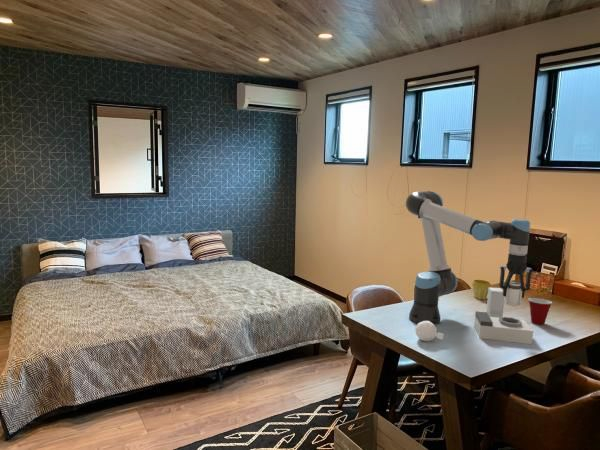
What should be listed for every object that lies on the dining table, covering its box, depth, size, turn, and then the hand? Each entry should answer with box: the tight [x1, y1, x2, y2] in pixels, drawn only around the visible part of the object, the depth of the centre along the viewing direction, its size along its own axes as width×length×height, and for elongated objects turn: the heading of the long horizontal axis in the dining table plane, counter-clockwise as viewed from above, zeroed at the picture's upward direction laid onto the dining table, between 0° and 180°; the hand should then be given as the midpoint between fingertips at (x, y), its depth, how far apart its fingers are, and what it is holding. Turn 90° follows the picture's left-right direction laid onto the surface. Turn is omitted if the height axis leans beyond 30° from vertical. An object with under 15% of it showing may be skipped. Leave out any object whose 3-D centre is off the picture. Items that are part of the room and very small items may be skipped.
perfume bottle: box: [415, 321, 445, 342], centre depth 197 cm, size 9×9×12 cm
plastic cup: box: [527, 297, 553, 326], centre depth 226 cm, size 11×11×12 cm
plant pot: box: [471, 279, 492, 300], centre depth 266 cm, size 10×10×10 cm
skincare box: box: [486, 287, 505, 318], centre depth 229 cm, size 8×7×16 cm
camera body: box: [473, 310, 534, 345], centre depth 207 cm, size 22×14×8 cm, turn 78°
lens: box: [506, 281, 521, 307], centre depth 204 cm, size 5×5×10 cm
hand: (512, 303), depth 205 cm, fingers closed on lens, 5 cm apart
